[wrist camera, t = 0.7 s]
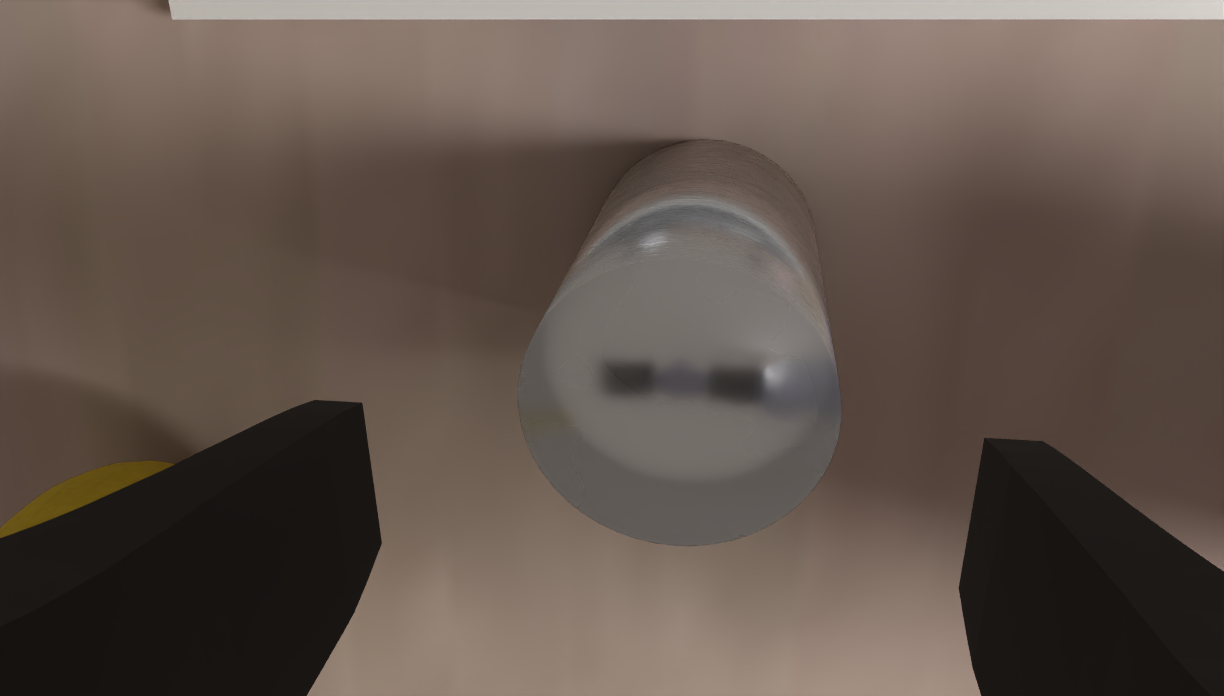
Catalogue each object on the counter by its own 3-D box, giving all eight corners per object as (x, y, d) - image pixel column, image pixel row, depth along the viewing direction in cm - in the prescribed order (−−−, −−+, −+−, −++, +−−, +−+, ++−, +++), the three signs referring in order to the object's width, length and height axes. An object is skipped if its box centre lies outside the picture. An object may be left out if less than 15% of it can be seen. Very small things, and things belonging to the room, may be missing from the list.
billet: (824, 141, 18) (856, 265, 12) (807, 351, 20) (827, 556, 14) (595, 137, 19) (508, 253, 12) (599, 342, 20) (526, 534, 14)
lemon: (69, 439, 24) (-236, 670, 16) (246, 372, 22) (-5, 595, 15) (189, 609, 25) (-37, 884, 18) (361, 559, 24) (187, 838, 17)
